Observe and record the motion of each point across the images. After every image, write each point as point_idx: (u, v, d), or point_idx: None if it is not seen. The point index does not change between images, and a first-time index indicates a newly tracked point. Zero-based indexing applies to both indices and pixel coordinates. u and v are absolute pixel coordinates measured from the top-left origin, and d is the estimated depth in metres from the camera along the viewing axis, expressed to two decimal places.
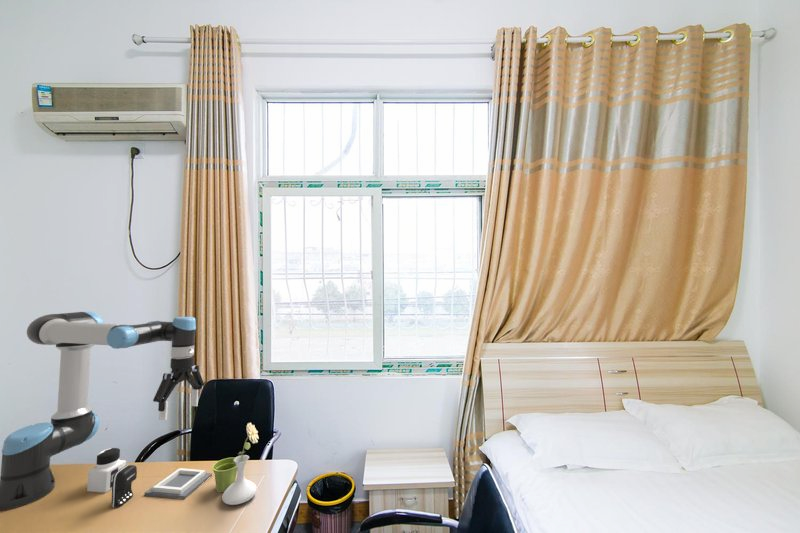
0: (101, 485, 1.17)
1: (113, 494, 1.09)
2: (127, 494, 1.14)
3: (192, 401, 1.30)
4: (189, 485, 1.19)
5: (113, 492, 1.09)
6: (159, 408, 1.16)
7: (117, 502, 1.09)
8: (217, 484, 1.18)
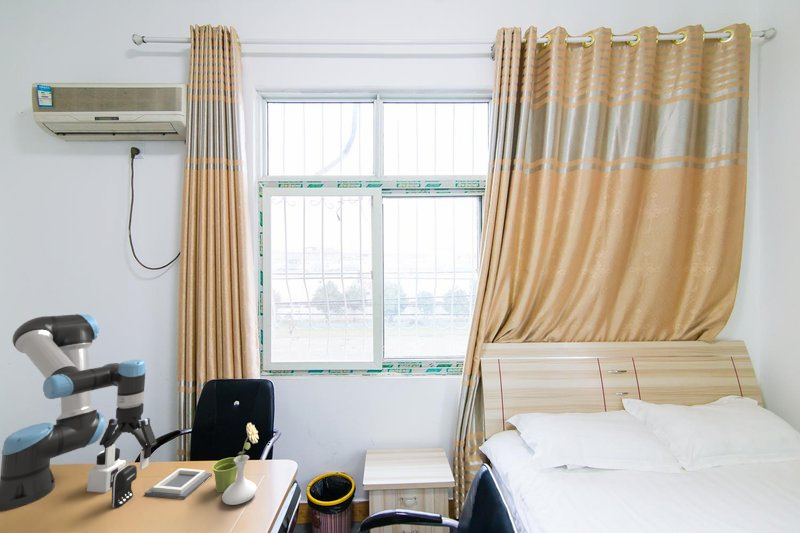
0: (101, 484, 1.17)
1: (113, 494, 1.09)
2: (127, 494, 1.14)
3: None
4: (189, 485, 1.19)
5: (113, 492, 1.09)
6: None
7: (117, 502, 1.09)
8: (217, 484, 1.18)
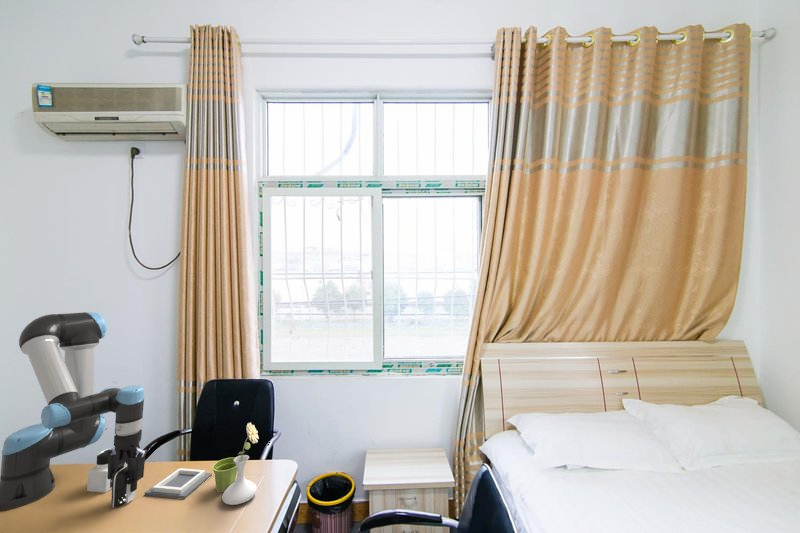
0: (101, 485, 1.17)
1: (113, 494, 1.09)
2: None
3: None
4: (189, 485, 1.19)
5: (113, 491, 1.09)
6: None
7: (117, 502, 1.09)
8: (217, 484, 1.18)
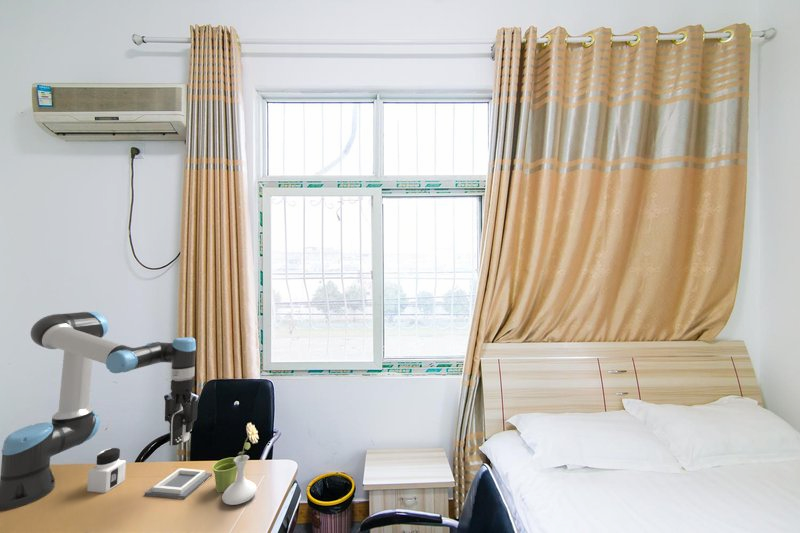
0: (101, 485, 1.17)
1: (171, 433, 1.19)
2: None
3: None
4: (189, 485, 1.19)
5: (171, 431, 1.19)
6: None
7: (175, 441, 1.19)
8: (217, 484, 1.18)
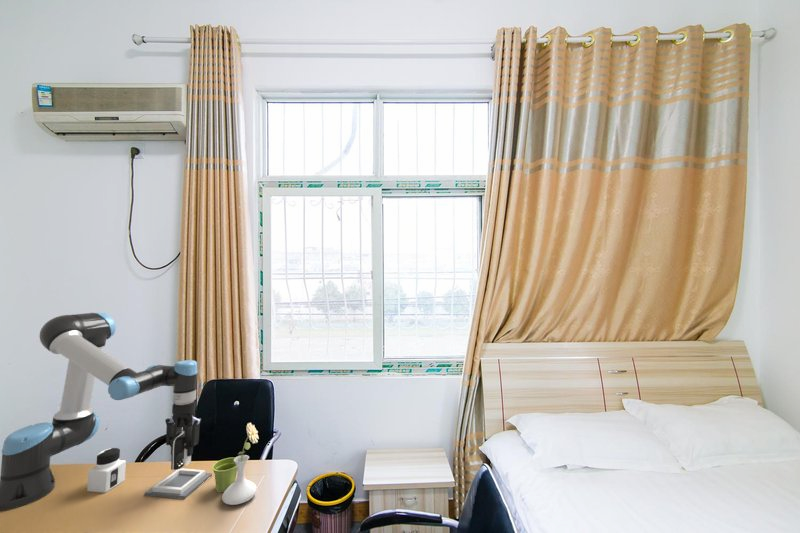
0: (101, 484, 1.17)
1: (172, 458, 1.19)
2: None
3: None
4: (189, 485, 1.19)
5: (172, 455, 1.19)
6: None
7: (176, 465, 1.19)
8: (217, 484, 1.18)
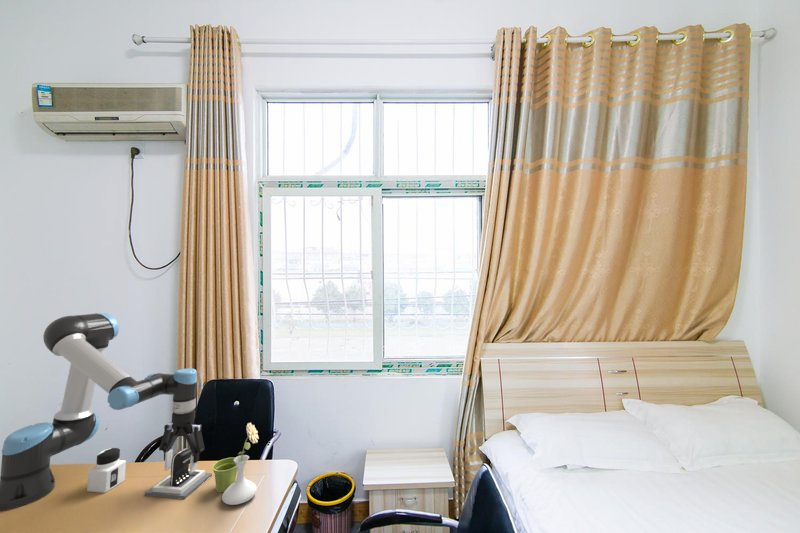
0: (101, 484, 1.17)
1: (171, 474, 1.19)
2: (184, 475, 1.23)
3: None
4: (189, 485, 1.19)
5: (172, 472, 1.19)
6: None
7: (174, 482, 1.19)
8: (217, 484, 1.18)
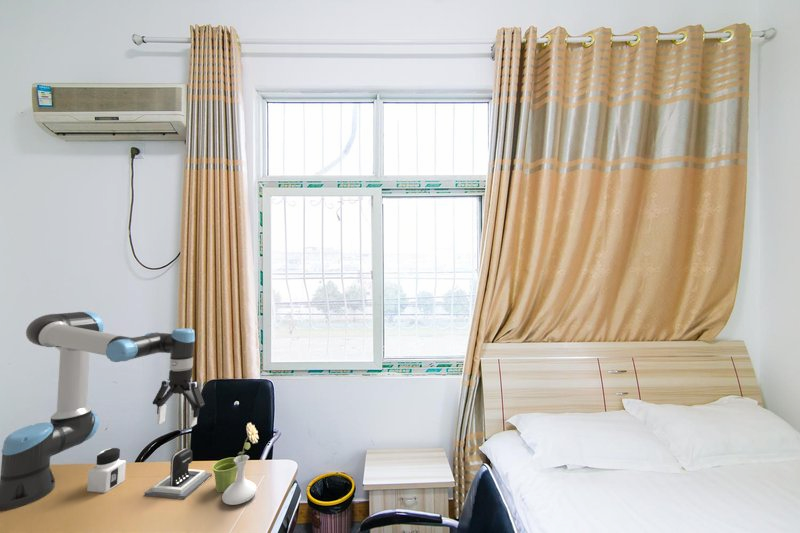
0: (101, 485, 1.17)
1: (171, 474, 1.19)
2: (184, 475, 1.23)
3: None
4: (189, 485, 1.19)
5: (171, 472, 1.19)
6: None
7: (174, 482, 1.19)
8: (217, 484, 1.18)
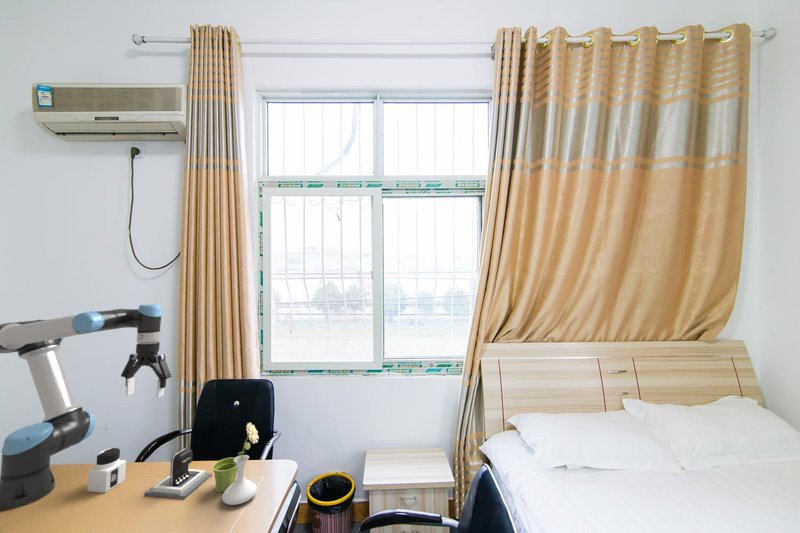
0: (101, 484, 1.17)
1: (171, 474, 1.19)
2: (184, 475, 1.23)
3: None
4: (189, 485, 1.19)
5: (171, 472, 1.19)
6: None
7: (174, 482, 1.19)
8: (217, 484, 1.18)
